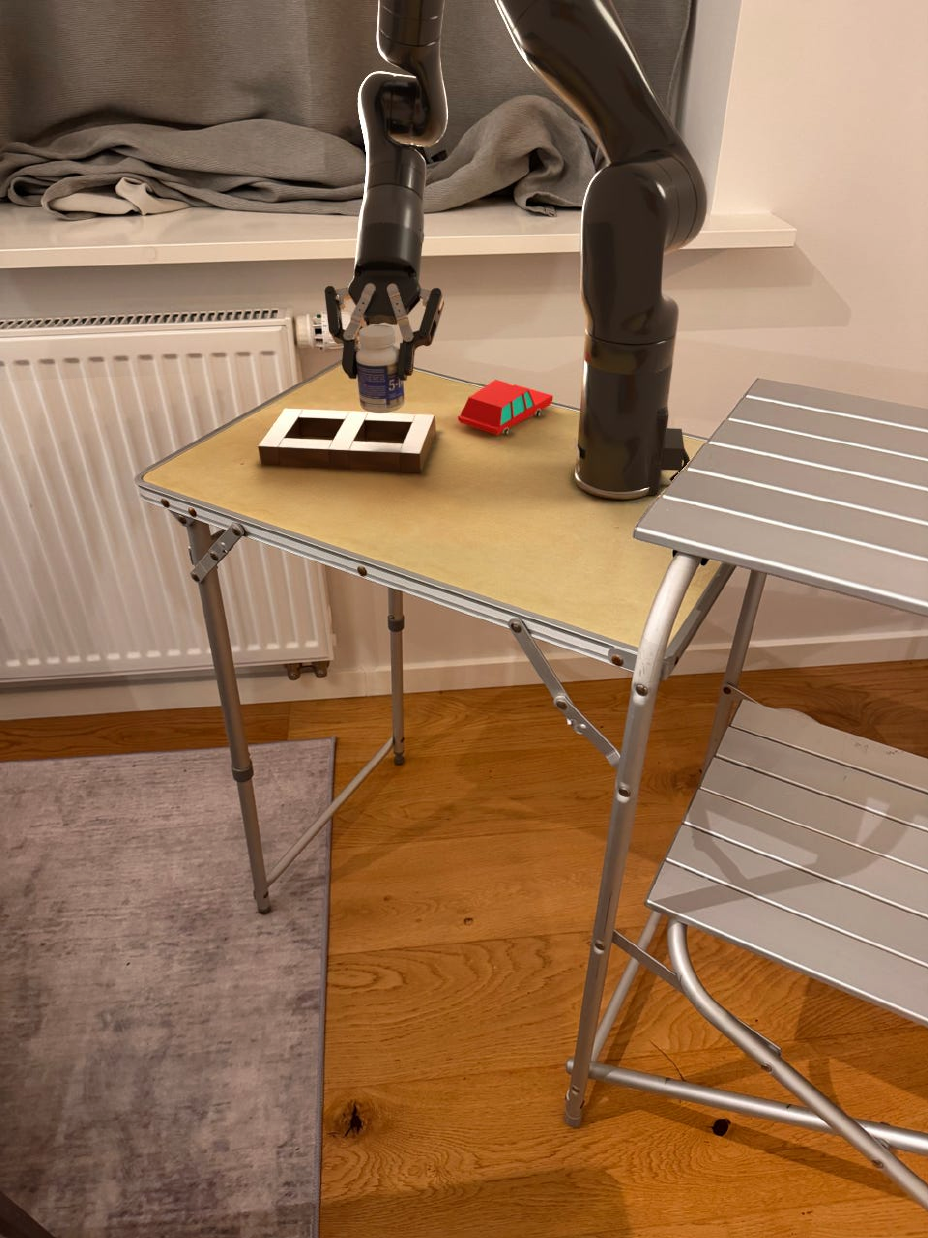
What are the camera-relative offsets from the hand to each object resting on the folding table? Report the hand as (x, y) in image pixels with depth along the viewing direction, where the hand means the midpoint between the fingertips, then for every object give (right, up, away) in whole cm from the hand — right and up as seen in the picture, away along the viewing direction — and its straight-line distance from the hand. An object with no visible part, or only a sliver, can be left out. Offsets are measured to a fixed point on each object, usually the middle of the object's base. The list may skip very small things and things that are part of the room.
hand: (376, 376), depth 102 cm
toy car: (+15, -2, +15) cm, 21 cm away
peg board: (-4, -7, +8) cm, 11 cm away
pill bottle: (0, -2, +4) cm, 5 cm away
